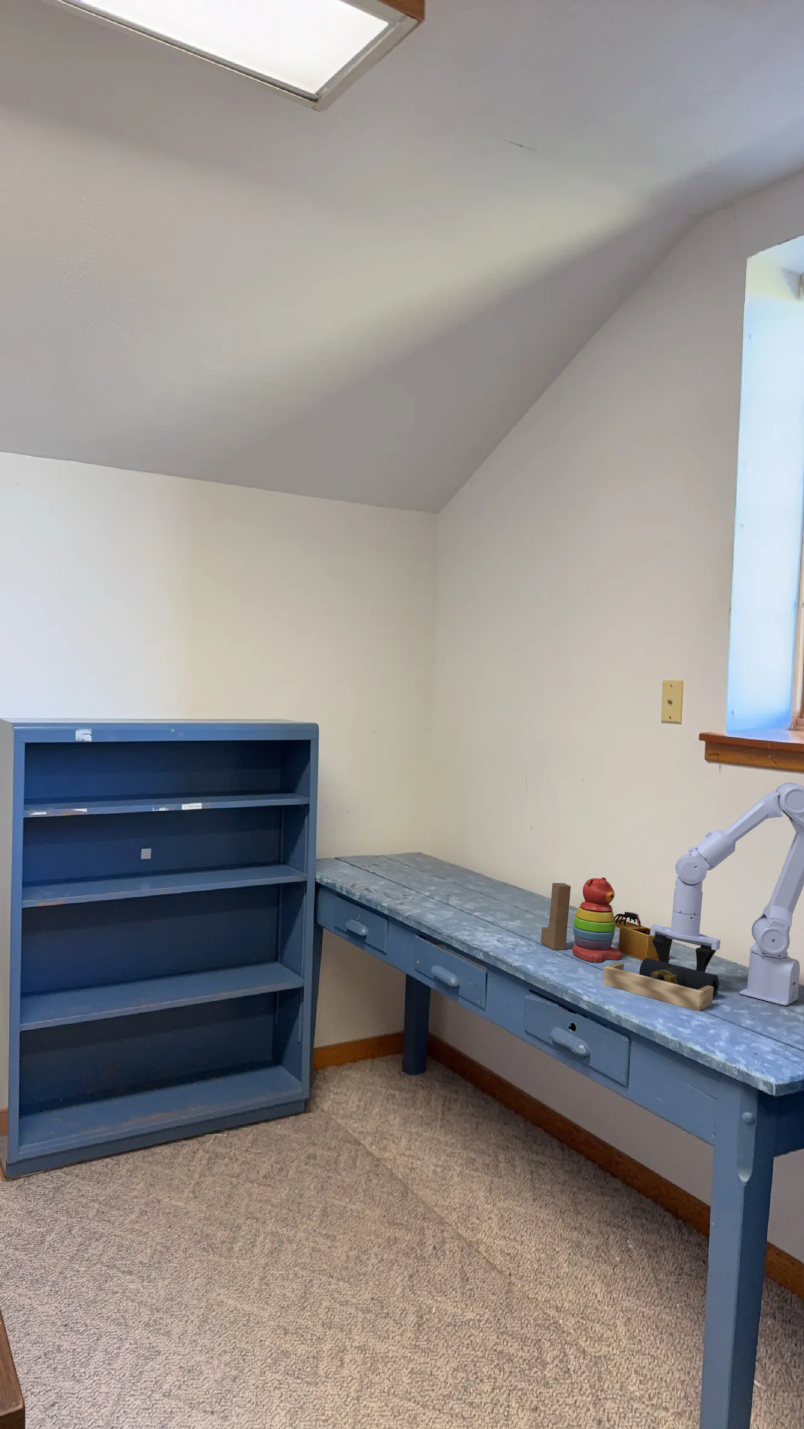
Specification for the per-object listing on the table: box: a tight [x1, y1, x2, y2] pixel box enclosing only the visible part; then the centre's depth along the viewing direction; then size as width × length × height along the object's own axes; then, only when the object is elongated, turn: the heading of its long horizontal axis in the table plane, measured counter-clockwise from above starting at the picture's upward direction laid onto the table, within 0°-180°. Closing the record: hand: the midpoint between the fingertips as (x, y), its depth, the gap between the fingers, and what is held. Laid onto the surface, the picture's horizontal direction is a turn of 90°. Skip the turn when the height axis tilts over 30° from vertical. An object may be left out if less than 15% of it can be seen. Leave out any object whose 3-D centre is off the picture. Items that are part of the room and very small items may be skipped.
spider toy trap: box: [614, 911, 659, 961], centre depth 223 cm, size 6×15×9 cm, turn 30°
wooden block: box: [540, 882, 572, 951], centre depth 222 cm, size 7×3×15 cm, turn 18°
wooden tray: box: [602, 962, 714, 1012], centre depth 189 cm, size 20×6×4 cm, turn 50°
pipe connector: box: [638, 958, 720, 999], centre depth 192 cm, size 12×5×15 cm
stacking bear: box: [571, 876, 623, 963], centre depth 217 cm, size 11×10×18 cm
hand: (681, 976), depth 198 cm, fingers open, 7 cm apart
